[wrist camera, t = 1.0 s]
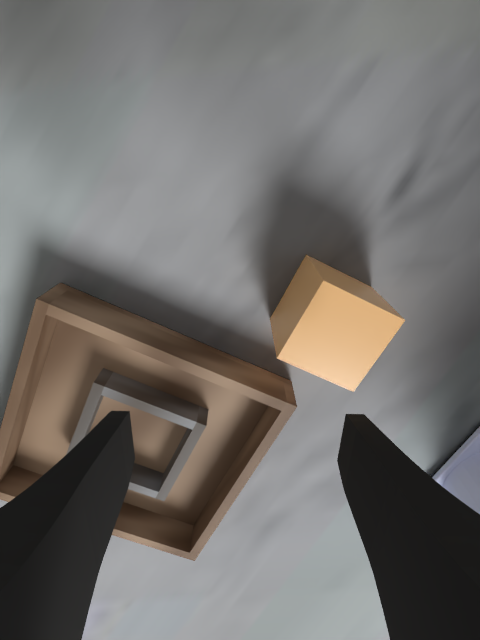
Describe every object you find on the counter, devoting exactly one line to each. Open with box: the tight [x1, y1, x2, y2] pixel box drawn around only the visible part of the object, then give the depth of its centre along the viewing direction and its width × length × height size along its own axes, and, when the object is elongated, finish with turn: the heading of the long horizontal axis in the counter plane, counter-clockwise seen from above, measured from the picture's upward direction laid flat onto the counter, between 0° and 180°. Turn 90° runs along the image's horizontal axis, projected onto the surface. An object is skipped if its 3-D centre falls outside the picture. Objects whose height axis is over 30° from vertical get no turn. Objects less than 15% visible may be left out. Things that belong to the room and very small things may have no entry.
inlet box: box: [0, 283, 297, 561], centre depth 22 cm, size 14×14×2 cm
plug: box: [270, 255, 405, 392], centre depth 18 cm, size 4×4×4 cm
